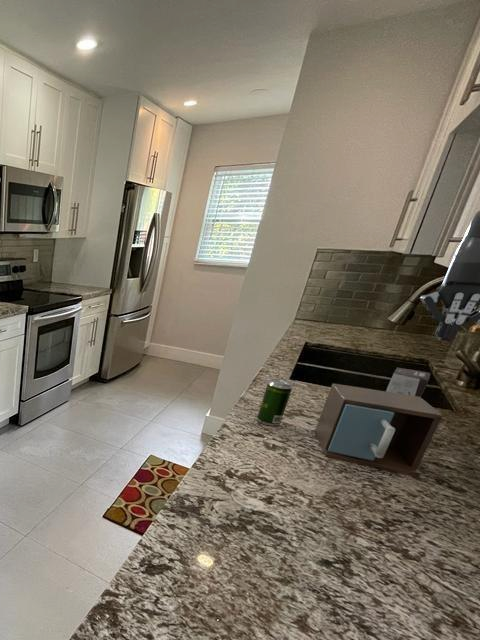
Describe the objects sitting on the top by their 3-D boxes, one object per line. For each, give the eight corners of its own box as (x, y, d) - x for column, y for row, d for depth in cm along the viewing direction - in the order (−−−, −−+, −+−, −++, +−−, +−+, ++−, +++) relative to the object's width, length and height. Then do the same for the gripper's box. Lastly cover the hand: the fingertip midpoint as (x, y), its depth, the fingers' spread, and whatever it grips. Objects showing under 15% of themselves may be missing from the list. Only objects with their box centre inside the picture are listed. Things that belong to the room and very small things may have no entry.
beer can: (284, 425, 111) (298, 384, 107) (269, 427, 110) (282, 386, 105) (266, 417, 116) (279, 377, 111) (251, 418, 114) (263, 378, 110)
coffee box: (402, 438, 105) (429, 380, 100) (368, 429, 110) (392, 372, 104) (406, 428, 111) (432, 372, 105) (374, 420, 115) (397, 366, 110)
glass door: (372, 459, 92) (393, 412, 88) (381, 472, 87) (403, 423, 83) (327, 449, 96) (345, 404, 92) (333, 461, 91) (353, 414, 87)
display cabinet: (396, 449, 100) (420, 396, 95) (418, 477, 89) (447, 419, 84) (314, 432, 107) (332, 383, 102) (325, 456, 96) (346, 402, 91)
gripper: (443, 259, 87) (409, 338, 93) (536, 263, 81) (494, 347, 87) (428, 257, 93) (397, 332, 99) (514, 261, 87) (476, 340, 93)
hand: (443, 339), depth 93 cm, fingers closed
